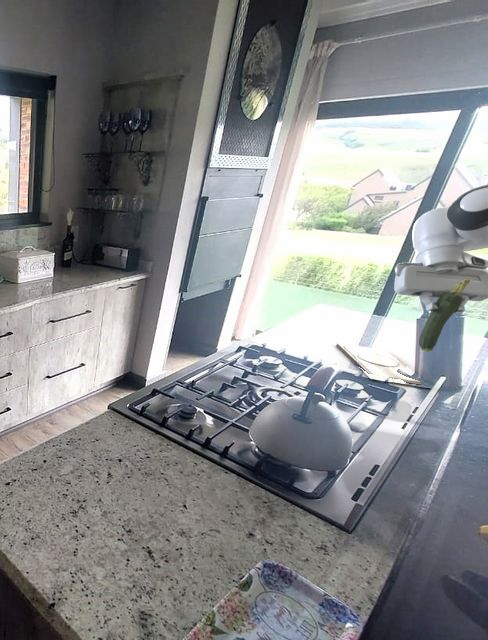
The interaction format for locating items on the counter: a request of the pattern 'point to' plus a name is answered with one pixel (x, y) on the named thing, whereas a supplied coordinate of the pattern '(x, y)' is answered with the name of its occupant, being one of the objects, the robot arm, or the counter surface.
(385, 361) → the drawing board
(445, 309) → the vegetable
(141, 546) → the counter surface
